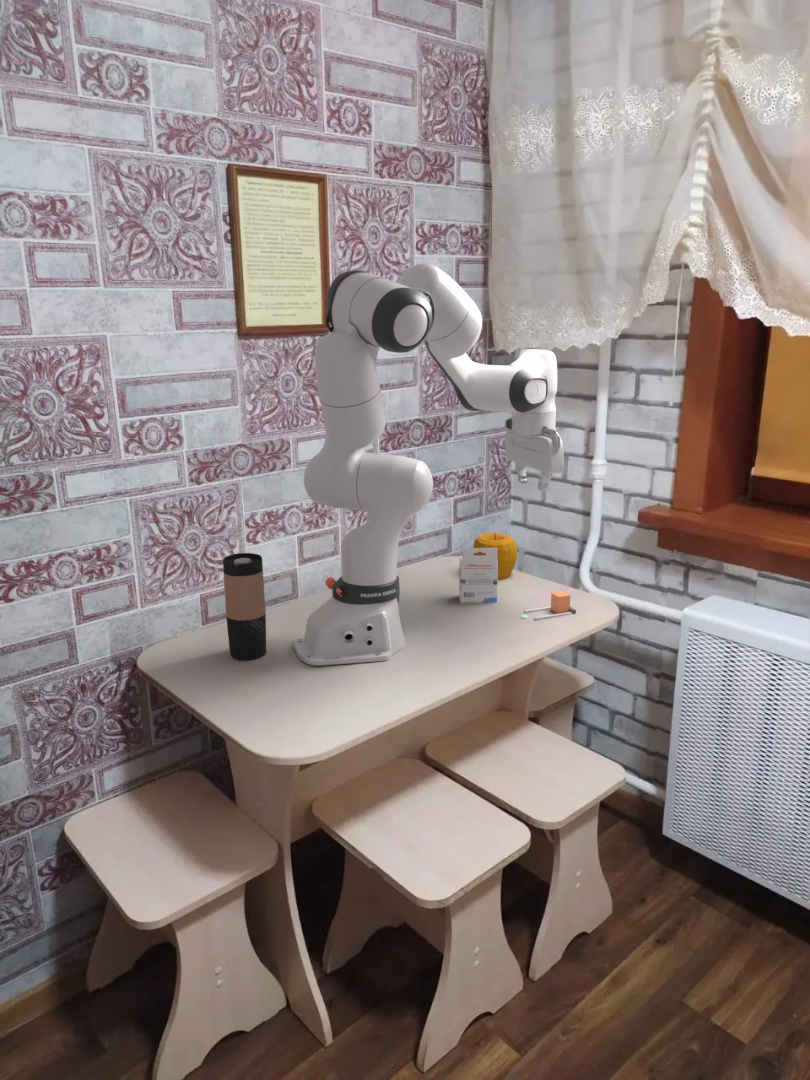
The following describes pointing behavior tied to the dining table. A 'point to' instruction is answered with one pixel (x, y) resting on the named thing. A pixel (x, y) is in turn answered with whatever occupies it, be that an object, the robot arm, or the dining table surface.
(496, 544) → the apple
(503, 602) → the dining table surface
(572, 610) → the breaker panel
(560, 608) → the block
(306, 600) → the dining table surface
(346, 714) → the dining table surface
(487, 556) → the ink box
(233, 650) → the travel mug
